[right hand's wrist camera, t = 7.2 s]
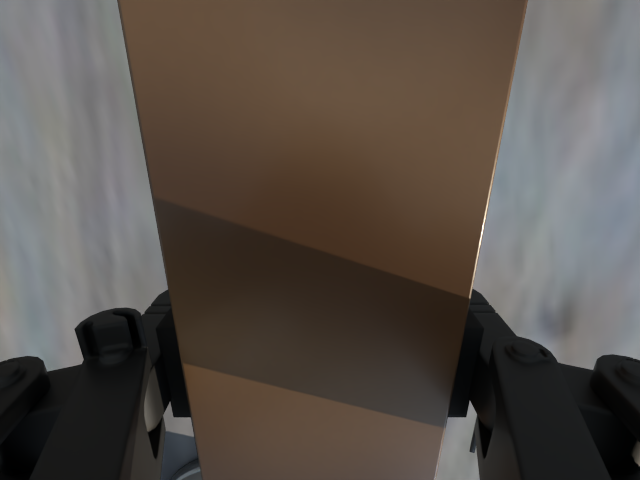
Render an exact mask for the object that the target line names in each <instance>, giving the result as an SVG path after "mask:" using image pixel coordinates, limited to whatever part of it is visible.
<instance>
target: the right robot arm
mask: <svg viewBox="0 0 640 480" xmlns="http://www.w3.org/2000/svg"><path fill="white" fill-rule="evenodd" d="M75 332H76V335H77V339H78V342H79V345H80V348H81V352H82V355H83V358H84V361H83V363H82V364H81V365H77V366H73V367H68V368H63V369H58V370H53V371H48V372H47V370H46V367H45V365H44V362H43V360H41V359H40V358H38V357H32V356H25V357H18V358H12V359H8V360H7V361H6V360H5V361H2V362H0V480H160V477H161V467H162V458H163V449H164V440H165V431H166V429H165V423H164V418H163V414H164V412H165V410H166V408H167V406H168V404H169V402H171V407H172V412H173V416H174V417H191V415H190V409H189V403H188V398H187V392H186V386H185V381H184V375H183V369H182V364H181V358H180V352H179V347H178V341H177V335H176V330H175V324H174V318H173V313H172V307H171V302H170V296H169V290H166V291H165V292H163V293H161V294H160V295H159V296H158V297H157V298H156V299H155V300H154V302H153V303H152V304H151V306H149V308H148V309H147V310H146V311H145V314H143V315H142V316H141V313H140V312H138V311H137V310H136V309H131V308H114V309H110V310H106V311H102V312H99V313H97V314H94V315H92V316H90V317H88V318H87V319H85V320H84V321H82V322H81V323H80V324H79V325H78V326H77V327H76V328H75ZM469 401H471V403H472V405H473V407H474V409H475V411H476V413H477V418H476V423H475V427H474V432H473V437H472V441H471V446H470V452H473V453H474V452H475V448H477V457H478V466H479V475H480V480H640V360H637V359H633V358H631V357H626V356H619V355H603V356H601V357H600V358H598V359H597V361H596V364H595V367H594V369H593V370H590V369H585V368H580V367H575V366H570V365H565V364H561V363H558V362H557V360H556V358H555V357H554V356H553V354H552V353H551V352H550V351H549V350H547V349H546V348H545V347H543V346H542V345H540V344H538V343H536V342H534V341H532V340H529V339H525V338H522V337H518V336H516V335H515V334H514V332H513V331H512V330H511V329H510V328H509V326H508V325H507V324H506V323H505V322H504V320H503V319H502V318H501V317H500V316H499V315H498V313H496V312H495V310H494V309H493V307H492V306H491V305H489V303H488V302H487V300H486V299H485V298H484V297H483V296H482V294H480V293H479V292H477V291H476V290H474V289H472V293H471V298H470V304H469V309H468V314H467V319H466V324H465V329H464V335H463V340H462V345H461V350H460V355H459V361H458V366H457V371H456V376H455V381H454V387H453V392H452V397H451V402H450V407H449V413H448V417H466V415H467V410H468V406H469ZM171 480H202V477H201V471H200V466H199V460H198V459H197V460H195V461H193V462H191V463H189V464H187V465H185V466H184V467H182V468H181V469H180V470H179V471H178V472H176V473H175V475H174V476H173V477H172V478H171Z"/></svg>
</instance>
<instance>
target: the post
mask: <svg viewBox="0 0 640 480" xmlns="http://www.w3.org/2000/svg"><path fill="white" fill-rule="evenodd" d="M117 1H118V7H119V13H120V18H121V24H122V30H123V35H124V41H125V47H126V52H127V58H128V64H129V69H130V75H131V81H132V86H133V92H134V98H135V103H136V109H137V115H138V120H139V126H140V132H141V137H142V143H143V149H144V154H145V160H146V166H147V171H148V177H149V183H150V188H151V194H152V200H153V205H154V211H155V217H156V222H157V228H158V234H159V239H160V245H161V251H162V256H163V262H164V268H165V273H166V279H167V285H168V290H169V296H170V302H171V307H172V313H173V318H174V324H175V330H176V335H177V341H178V347H179V352H180V358H181V364H182V369H183V375H184V381H185V386H186V392H187V398H188V403H189V409H190V415H191V420H192V426H193V432H194V437H195V443H196V449H197V454H198V460H199V466H200V471H201V477H202V480H436V475H437V470H438V465H439V459H440V454H441V449H442V444H443V439H444V433H445V428H446V423H447V418H448V413H449V407H450V402H451V397H452V392H453V387H454V381H455V376H456V371H457V366H458V361H459V355H460V350H461V345H462V340H463V335H464V329H465V324H466V319H467V314H468V309H469V304H470V298H471V293H472V288H473V283H474V278H475V272H476V267H477V262H478V257H479V252H480V246H481V241H482V236H483V231H484V226H485V220H486V215H487V210H488V205H489V200H490V194H491V189H492V184H493V179H494V174H495V168H496V163H497V158H498V153H499V148H500V142H501V137H502V132H503V127H504V122H505V116H506V111H507V106H508V101H509V96H510V90H511V85H512V80H513V75H514V70H515V64H516V59H517V54H518V49H519V44H520V39H521V33H522V28H523V23H524V18H525V13H526V7H527V2H528V0H117Z"/></svg>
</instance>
